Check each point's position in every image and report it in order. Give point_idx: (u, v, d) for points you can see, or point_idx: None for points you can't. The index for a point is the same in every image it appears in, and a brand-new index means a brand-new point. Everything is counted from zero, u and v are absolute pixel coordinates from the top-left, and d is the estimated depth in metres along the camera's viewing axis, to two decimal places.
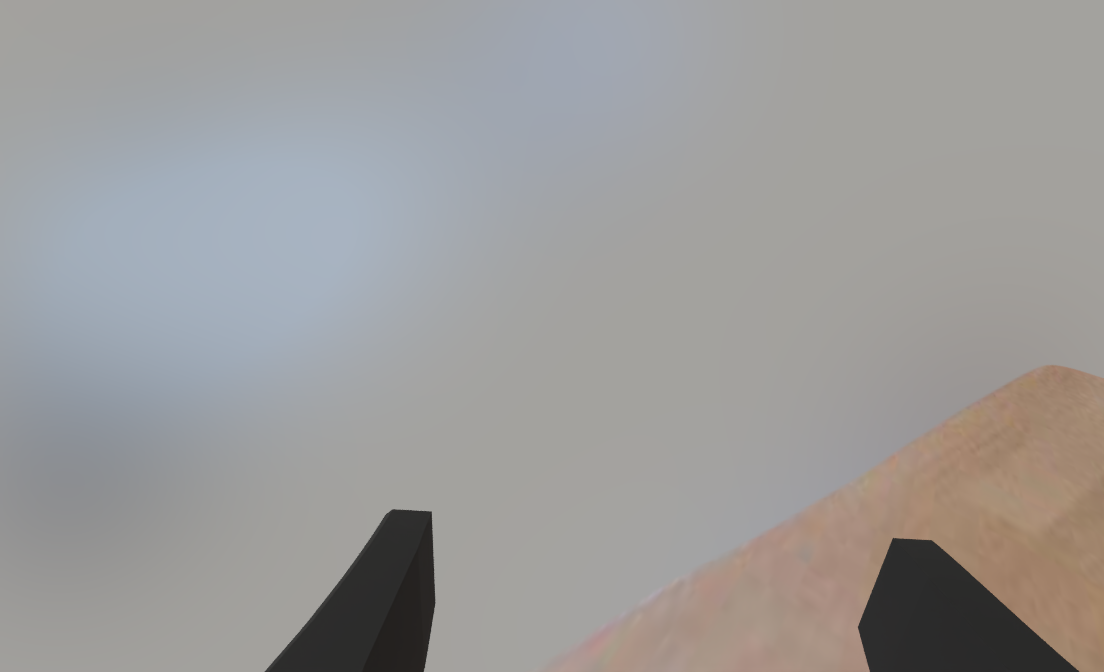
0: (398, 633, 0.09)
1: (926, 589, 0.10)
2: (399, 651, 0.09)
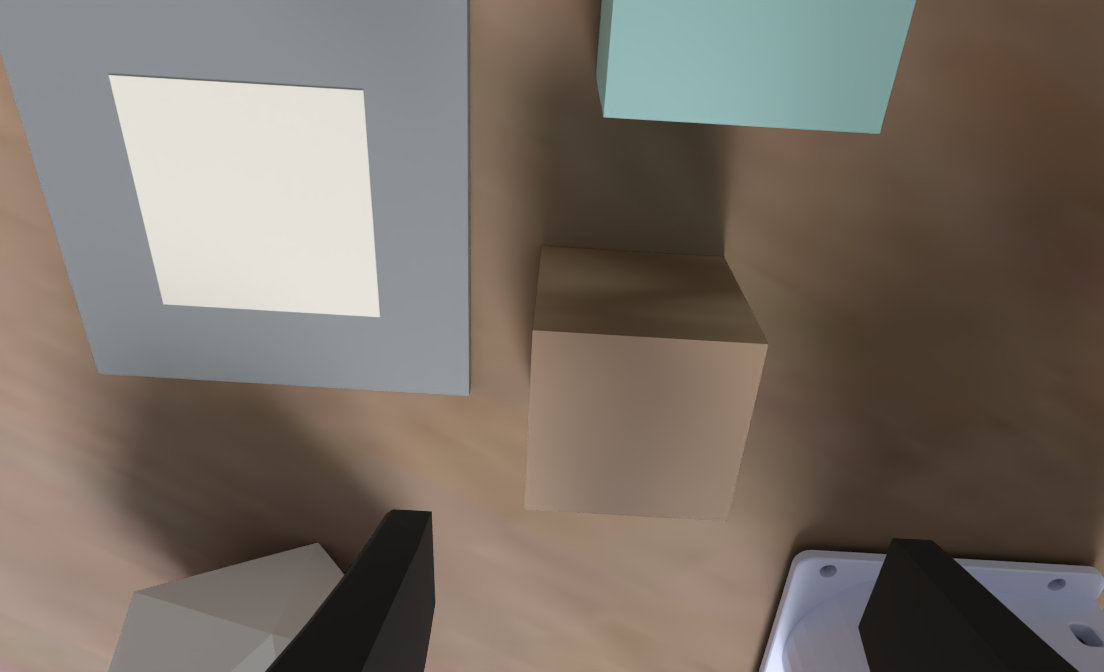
0: (398, 633, 0.09)
1: (926, 589, 0.10)
2: (399, 651, 0.09)
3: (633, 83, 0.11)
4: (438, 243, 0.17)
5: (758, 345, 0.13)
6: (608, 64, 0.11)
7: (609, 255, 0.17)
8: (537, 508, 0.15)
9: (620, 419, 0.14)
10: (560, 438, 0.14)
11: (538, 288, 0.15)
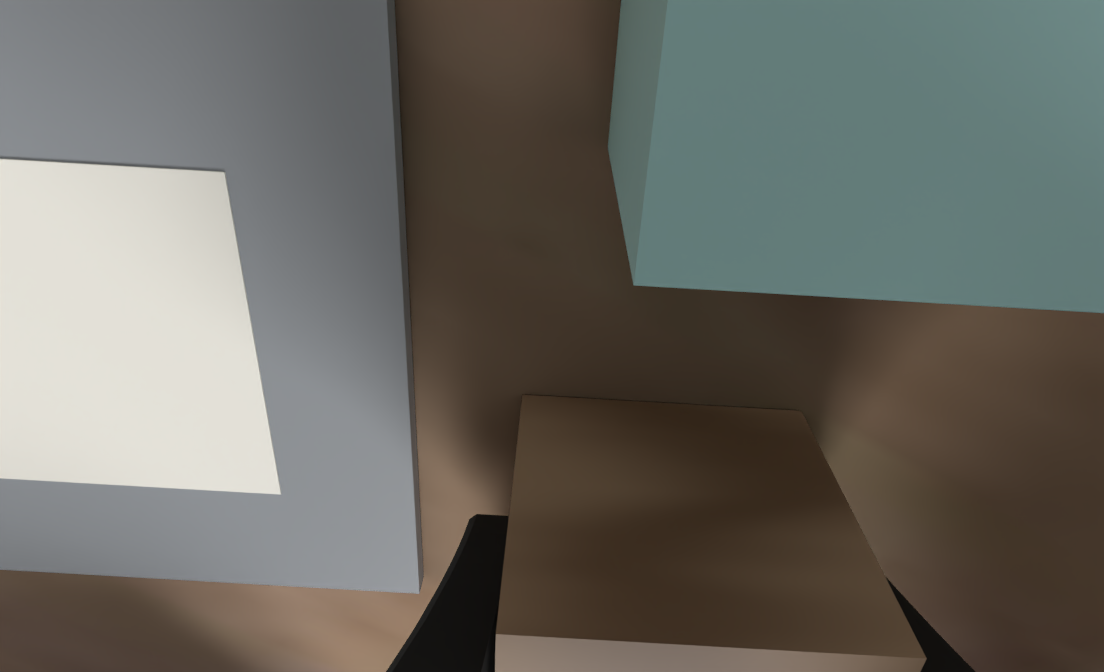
0: None
1: None
2: None
3: (700, 219, 0.05)
4: (362, 396, 0.11)
5: (908, 660, 0.07)
6: (646, 182, 0.05)
7: (627, 416, 0.11)
8: None
9: None
10: None
11: (513, 505, 0.09)
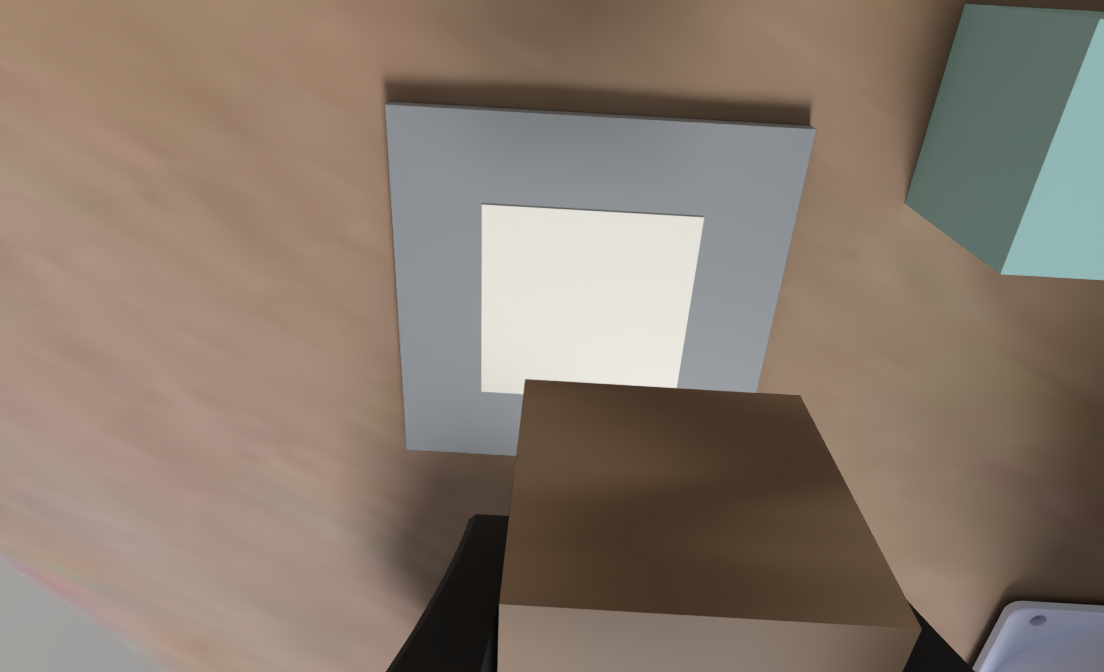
0: (497, 639, 0.09)
1: None
2: (497, 657, 0.09)
3: (1034, 248, 0.13)
4: (740, 341, 0.19)
5: (903, 630, 0.07)
6: (1014, 234, 0.13)
7: (628, 400, 0.11)
8: None
9: None
10: None
11: (515, 482, 0.09)
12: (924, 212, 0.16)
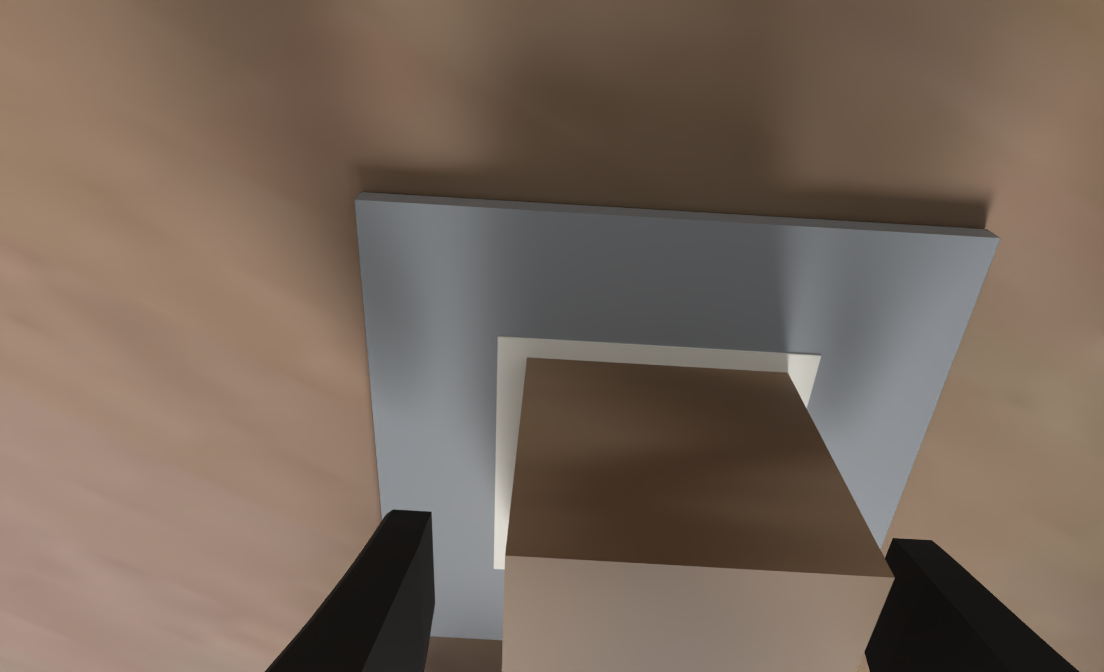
0: (398, 633, 0.09)
1: (926, 589, 0.10)
2: (399, 651, 0.09)
3: None
4: None
5: (877, 579, 0.08)
6: None
7: (624, 376, 0.12)
8: None
9: None
10: None
11: (518, 450, 0.10)
12: None
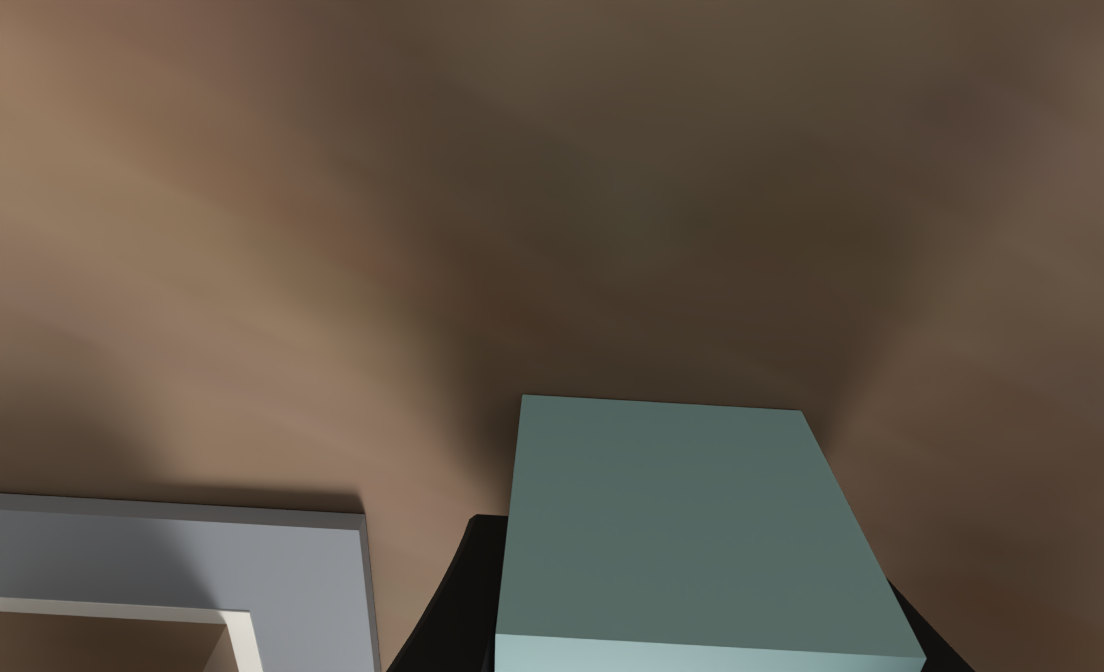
0: None
1: None
2: None
3: None
4: None
5: None
6: None
7: (63, 636, 0.13)
8: None
9: None
10: None
11: None
12: None
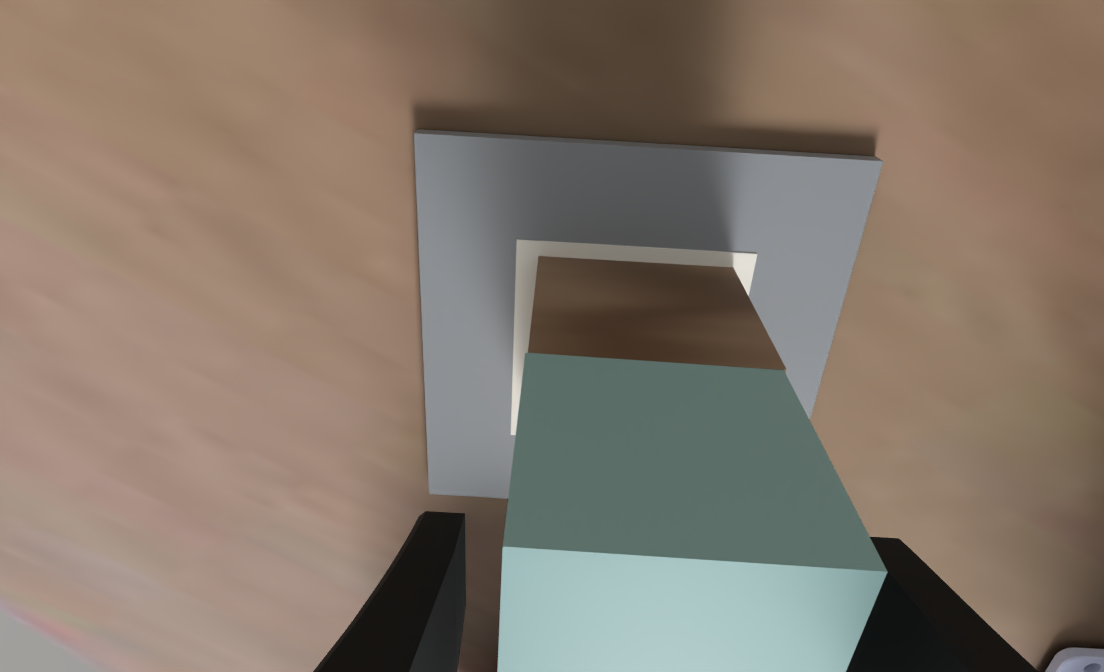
0: (437, 635, 0.09)
1: (889, 587, 0.10)
2: (438, 653, 0.09)
3: None
4: (791, 383, 0.17)
5: None
6: None
7: (611, 267, 0.16)
8: None
9: None
10: None
11: (534, 305, 0.14)
12: None
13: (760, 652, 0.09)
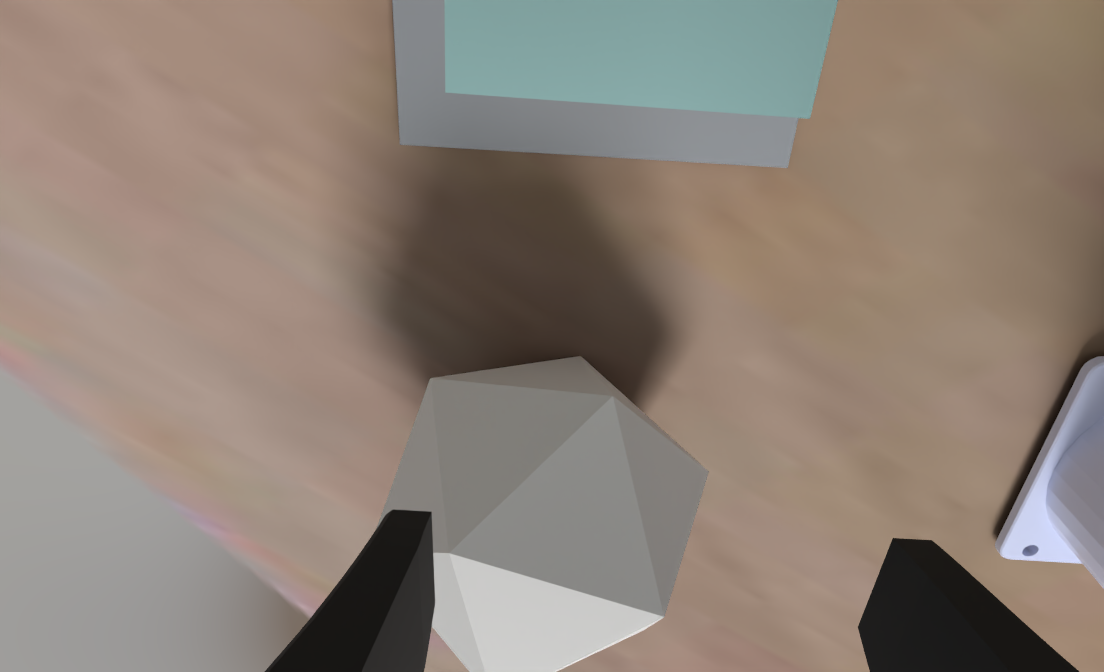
0: (398, 633, 0.09)
1: (926, 589, 0.10)
2: (399, 651, 0.09)
3: (481, 45, 0.08)
4: None
5: None
6: (446, 20, 0.08)
7: None
8: None
9: None
10: None
11: None
12: None
13: None
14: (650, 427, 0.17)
